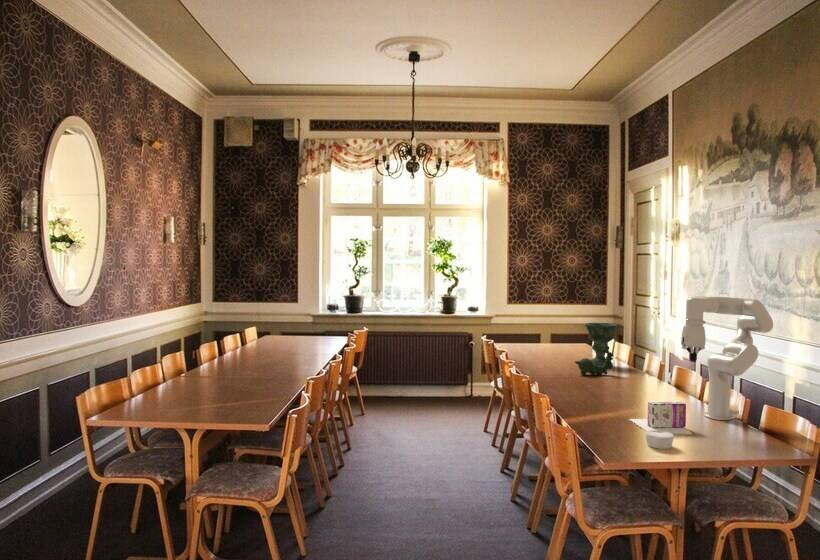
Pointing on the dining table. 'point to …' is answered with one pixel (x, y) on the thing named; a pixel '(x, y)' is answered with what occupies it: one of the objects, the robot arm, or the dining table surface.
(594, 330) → the goblet
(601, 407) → the dining table surface
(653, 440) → the ramekin
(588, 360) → the toy figurine
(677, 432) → the mat
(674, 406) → the candy bar box
